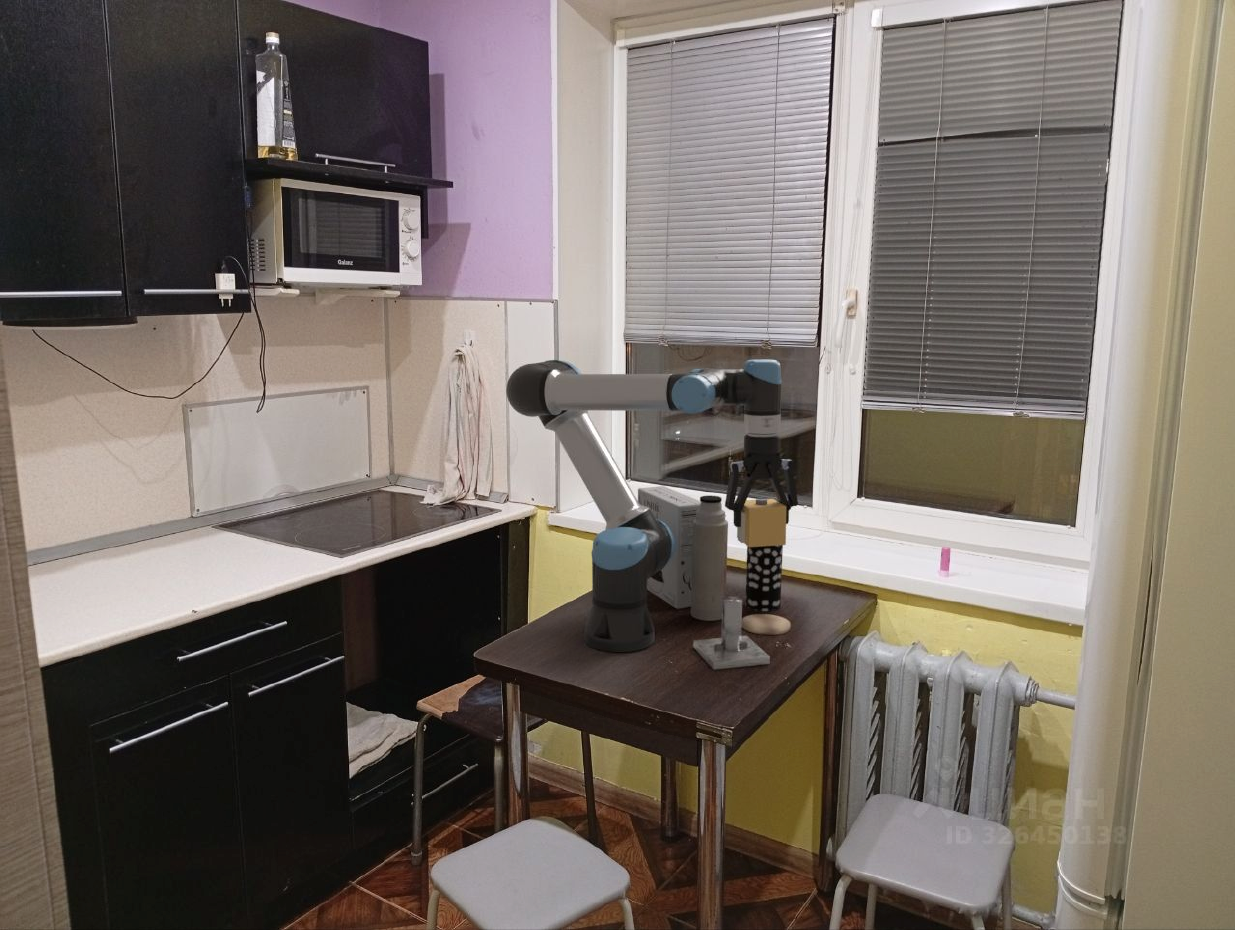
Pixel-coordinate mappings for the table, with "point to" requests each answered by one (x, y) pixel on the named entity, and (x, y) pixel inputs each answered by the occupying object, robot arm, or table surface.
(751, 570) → the white-spotted black cylinder
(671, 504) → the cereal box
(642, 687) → the table surface
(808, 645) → the table surface
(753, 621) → the cork pad
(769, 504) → the yellow knobbed cube
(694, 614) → the thermos bottle
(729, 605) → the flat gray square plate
